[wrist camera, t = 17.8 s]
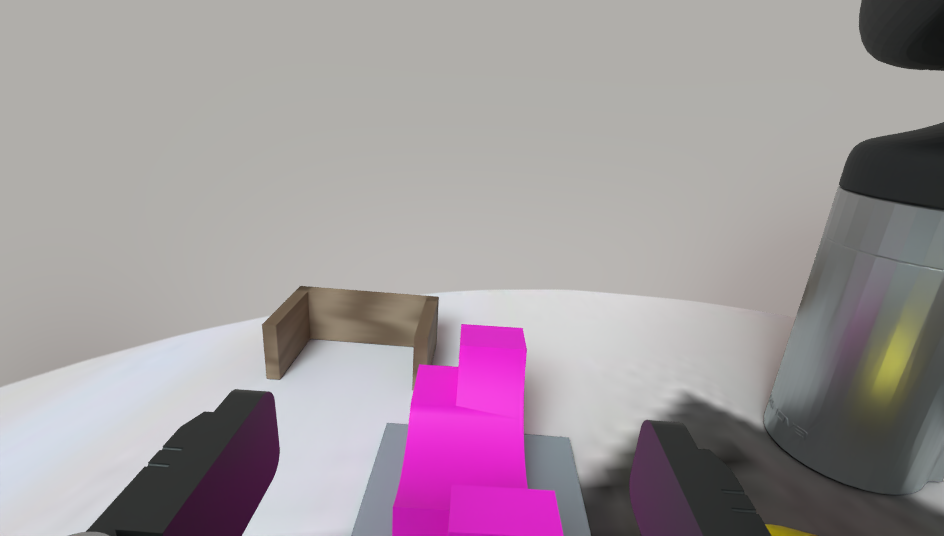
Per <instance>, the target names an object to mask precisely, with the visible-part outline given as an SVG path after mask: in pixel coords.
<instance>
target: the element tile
mask: <svg viewBox="0 0 944 536" xmlns="http://www.w3.org/2000/svg"><path fill="white" fill-rule="evenodd" d="M765 525H766V527H767V529H768V530H769V532H770V534H771V535H772V536H817V535H814V534H810V533H806V532H802V531H799V530H795V529H791V528H788V527H784V526H778V525H772V524H765Z"/></svg>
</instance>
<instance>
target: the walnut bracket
mask: <svg viewBox="0 0 944 536" xmlns="http://www.w3.org/2000/svg"><path fill="white" fill-rule="evenodd" d="M438 300H439V297H434V296H421V295H409V294H396V293H382V292H370V291H357V290H345V289H331V288H319V287H306V286H300V287H299V288H298V289H297V290H296V291H295V292H294V293H293V294H292V295H291V296H290V297H289V298H288V299H287V300H286V301H285V302H284V303H283V304H282V305H281V306H280V307H279V308H278V309H277V310H276V311H275V312H274V313H273V314H272V315H271V316H270V317H269V318H268V319H267V320H266V321H265V322H264V323H263V324H262V329H263V341H264V353H265V364H266V376H267V379H279V380H280V379H281V377H282V376H283V375H284V373H285V372H286V371H287V369H288V368H289V367H290V365H291V364H292V363H293V361H294V360H295V359H296V357H297V356H298V354H299V353H300V352H301V350H302V349H303V348H304V346H305V345H306V344H307V342H308V341H309V340H310V339H320V340H333V341H345V342H358V343H370V344H383V345H396V346H408V347H414V356H413V388H412V390H414V386H415V381H416V377H417V372H418V367H419V364H421V365H432V361H433V356H434V352H435V347H436V341H437V321H438Z"/></svg>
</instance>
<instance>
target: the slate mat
mask: <svg viewBox="0 0 944 536" xmlns="http://www.w3.org/2000/svg"><path fill="white" fill-rule="evenodd" d="M407 433H408V425H407V424H395V423H387V425H386V428H385V431H384V434H383V437H382V440H381V443H380V447H379V450H378V453H377V456H376V459H375V462H374V466H373V469H372V472H371V475H370V478H369V481H368V484H367V488H366V491H365V494H364V497H363V500H362V503H361V506H360V510H359V513H358V516H357V519H356V522H355V525H354V528H353V532H352V535H351V536H392V513H393V504H394V502H395V498H396V495H397V491H398V486H399V482H400V477H401V472H402V466H403V460H404V454H405V447H406V440H407ZM524 454H525V468H526V478H527V486H528V489H537V490H554V491H555V495H556V500H557V505H558V510H559V515H560V520H561V525H562V530H563V535H564V536H591V534H590V529H589V525H588V520H587V516H586V511H585V507H584V502H583V498H582V493H581V489H580V485H579V480H578V476H577V471H576V467H575V462H574V458H573V453H572V449H571V445H570V440H569V438H567V437H554V436H542V435H530V434H524Z"/></svg>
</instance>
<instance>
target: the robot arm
mask: <svg viewBox="0 0 944 536" xmlns="http://www.w3.org/2000/svg"><path fill="white" fill-rule="evenodd" d="M859 30H860V34H861V39H862V42H863V45H864V46H865V48H866V50H867V52H869V53H870V54H871V55H872V56H873V57H874V58H875V59H877V60H878V61H881V62H884V63H886V64H889V65H893V66H896V67H901V68H907V69H917V70H927V69H928V70H941V71H944V0H862V3H861V7H860V14H859ZM839 185H840V186H839V187H838V189H837V192H836V195H835V198H834V202H833V205H832V208H831V211H830V214H829V217H828V220H827V223H826V226H825V229H824V233H823V236H822V239H821V242H820V245H819V248H818V251H817V254H816V257H815V261H814V264H813V267H812V270H811V273H810V276H809V279H808V282H807V285H806V288H805V291H804V294H803V297H802V301H801V303H800V307H799V310H798V313H797V316H796V319H795V322H794V325H793V328H792V331H791V334H790V337H789V340H788V343H787V346H786V350H785V353H784V356H783V359H782V362H781V365H780V368H779V371H778V374H777V377H776V380H775V383H774V386H773V389H772V392H771V395H770V398H769V402H768V405H767V408H766V411H765V414H764V424H765V427H766V429H767V431H768V432H769V434H770V435H771V437H772V438H773V439H774V440H775V441H776V442H777V443H778V445H779V446H780V447H781V448H783V449H784V450H785V451H786V452H788V453H789V454H790V455H791V456H793V457H794V458H796V459H797V460H799V461H800V462H802V463H803V464H805V465H806V466H808V467H810V468H812V469H813V470H815V471H817V472H819V473H821V474H823V475H825V476H827V477H829V478H832V479H834V480H837V481H839V482H841V483H844V484H847V485H850V486H853V487H856V488H859V489H862V490H866V491H871V492H876V493H881V494H891V495H904V494H912V493H914V492H916V491H919V490H921V489H922V487H923V486H924V485H925V484H926V483H927V482H931V481H935V482H942V481H943V479H944V122H943V123H940V124H937V125H933V126H930V127H926V128H922V129H918V130H913V131H909V132H903V133H898V134H893V135H887V136H882V137H876V138H871V139H868V140H865V141H863V142H861V143H859V144H858V145H856V146H855V147H854V148H853V150H852V151H851V153H850V154H849V156H848V158H847V161H846V163H845V166H844V170H843V173H842V176H841V179H840V182H839ZM279 454H280V447H279V437H278V428H277V418H276V409H275V400H274V396H273V394H272V393H271V392H266V391H252V390H238V389H235V390H233V391H231V392H230V393H229V395H228V396H227V397H226V398H225V399H224V400H223V402H222V403H221V404H220V405H219V406H218V408H217V409H216V410H215V411H214V412H203V413H202V414H200V415H198V416H197V417H195V418H194V419H192V420H191V421H189V422H188V423H186V424H184V425H183V426H181V427H180V428H179V429H178V430H177V431H176V432H175V434H174V435H173V436H172V437H171V438H170V439H169V440H168V441H167V442H166V443H165V445H164V446H163V449H162V450H159V451H158V452H157V453H156V455H155V456H154V457H153V458H152V459H151V460H150V461H149V462H148V463H149V464H148V466H147V467H144V468H143V469H142V470H141V471H140V472H139V473H138V475H137V476H136V477H135V478H134V479H133V480H132V481H131V482H130V483H129V485H128V486H127V487H126V488H125V489H124V490H123V491H122V492H121V493H120V495H119V496H118V497H117V498H116V499H115V500H114V501H113V502H112V503H111V505H110V506H109V507H108V508H107V509H106V510H105V511H104V512H103V513H102V515H101V516H100V517H99V518H98V519H97V520H96V521H95V522H94V523H93V524H92V526H91V527H90V528H89V529H88V530H87V531H86V532H81V533H77V534H72V535H69V536H242V534H243V532H244V531H245V529H246V527H247V525H248V523H249V522H250V520H251V518H252V516H253V514H254V512H255V511H256V509H257V507H258V505H259V503H260V502H261V500H262V498H263V496H264V494H265V493H266V491H267V489H268V487H269V485H270V483H271V482H272V480H273V478H274V475H275V473H276V470H277V466H278V462H279ZM630 499H631V504H632V508H633V511H634V514H635V517H636V520H637V523H638V526H639V529H640V532H641V535H642V536H772V535H771V534H770V532H769V530H768V529H767V527H766V525H765V524H764V522H763V521H762V519H761V517H760V516H759V514H756V511H755V510H756V509H755V508H754V506H753V504H752V503H751V501H750V499H749V498H748V496H747V495H745V494H744V490H743V488H742V486H741V485H740V483H739V482H738V480H737V478H736V477H735V475H734V473H733V472H732V470H731V469H730V468H729V467H728V466H727V465H726V464H725V463H724V462H722V461H721V460H720V459H719V458H718V457H717V456H716V455H715V454H714V453H712V452H711V451H710V450H707V449H698V448H697V446H696V444H695V442H694V441H693V439H692V437H691V435H690V433H689V432H688V430H687V428H686V427H685V425H684V424H683V423H680V422H666V421H652V420H645V421H644V422H643V424H642V426H641V430H640V434H639V439H638V443H637V448H636V452H635V457H634V461H633V466H632V470H631V475H630Z"/></svg>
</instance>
